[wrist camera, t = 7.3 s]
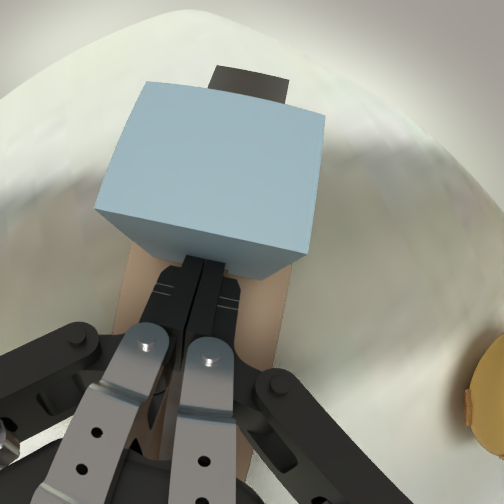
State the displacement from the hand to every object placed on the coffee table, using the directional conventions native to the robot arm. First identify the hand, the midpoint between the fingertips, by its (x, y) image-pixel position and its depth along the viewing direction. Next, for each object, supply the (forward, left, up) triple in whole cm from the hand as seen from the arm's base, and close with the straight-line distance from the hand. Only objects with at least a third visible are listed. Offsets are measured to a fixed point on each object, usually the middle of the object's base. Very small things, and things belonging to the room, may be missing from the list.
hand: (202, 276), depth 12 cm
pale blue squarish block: (0, -3, -2) cm, 3 cm away
